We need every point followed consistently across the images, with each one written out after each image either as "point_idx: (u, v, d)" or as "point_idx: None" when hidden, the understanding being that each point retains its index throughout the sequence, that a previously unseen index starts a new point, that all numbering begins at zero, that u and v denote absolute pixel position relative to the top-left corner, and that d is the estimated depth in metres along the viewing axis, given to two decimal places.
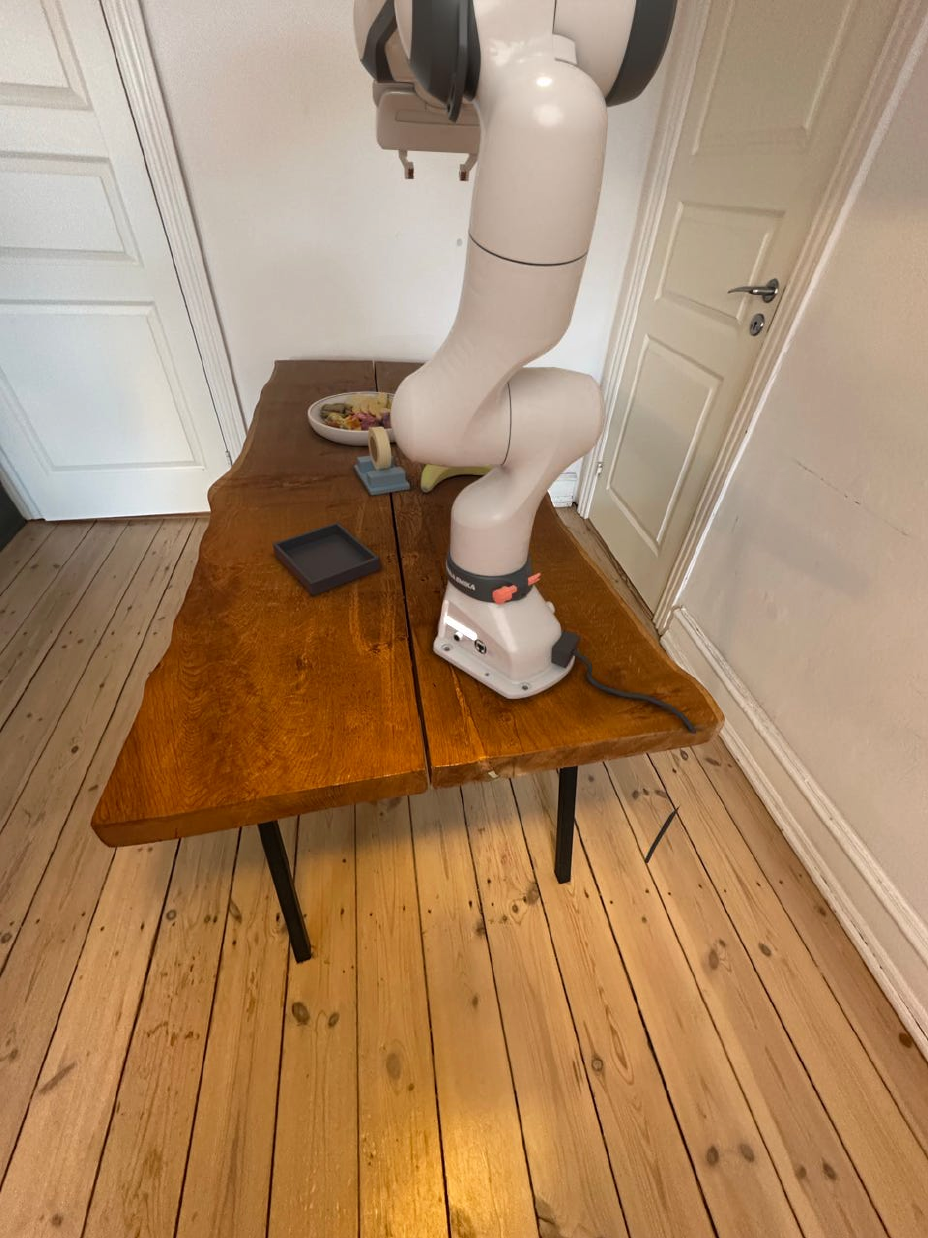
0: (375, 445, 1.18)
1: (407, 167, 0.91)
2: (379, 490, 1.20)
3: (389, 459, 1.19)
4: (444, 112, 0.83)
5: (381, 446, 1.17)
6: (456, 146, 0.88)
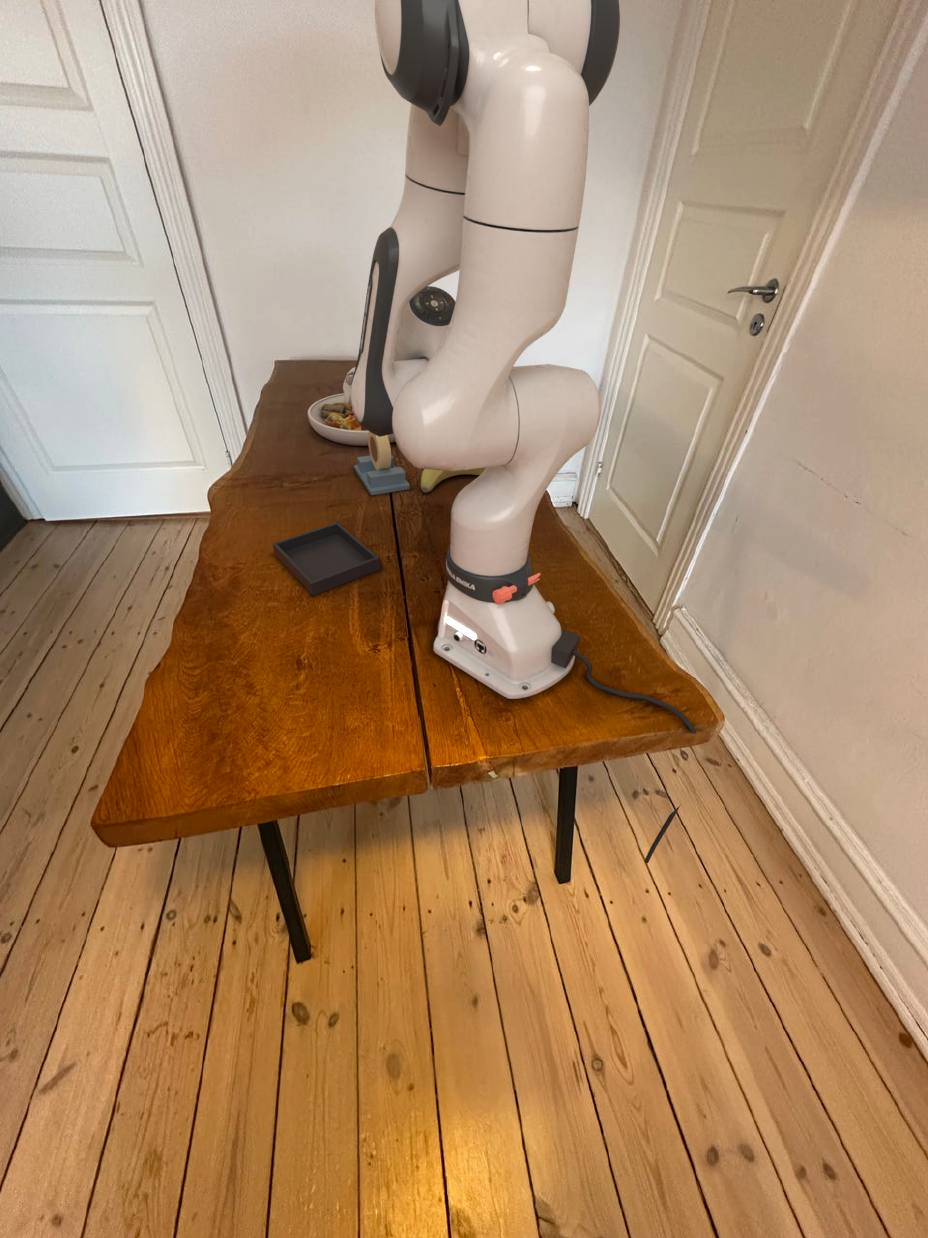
0: (375, 445, 1.18)
1: None
2: (379, 490, 1.20)
3: (389, 459, 1.19)
4: None
5: (381, 446, 1.17)
6: None
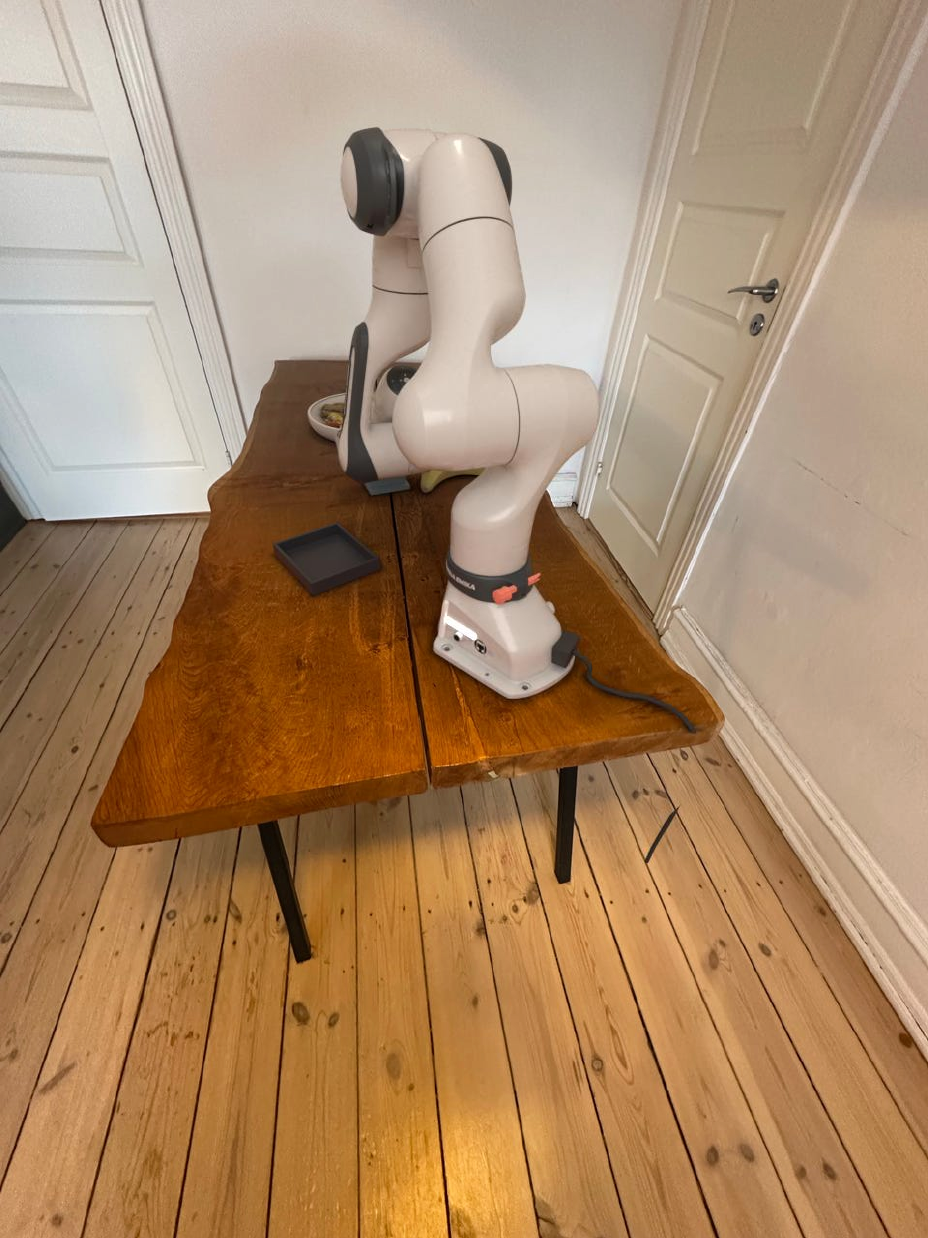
0: None
1: None
2: (379, 490, 1.20)
3: None
4: None
5: None
6: None
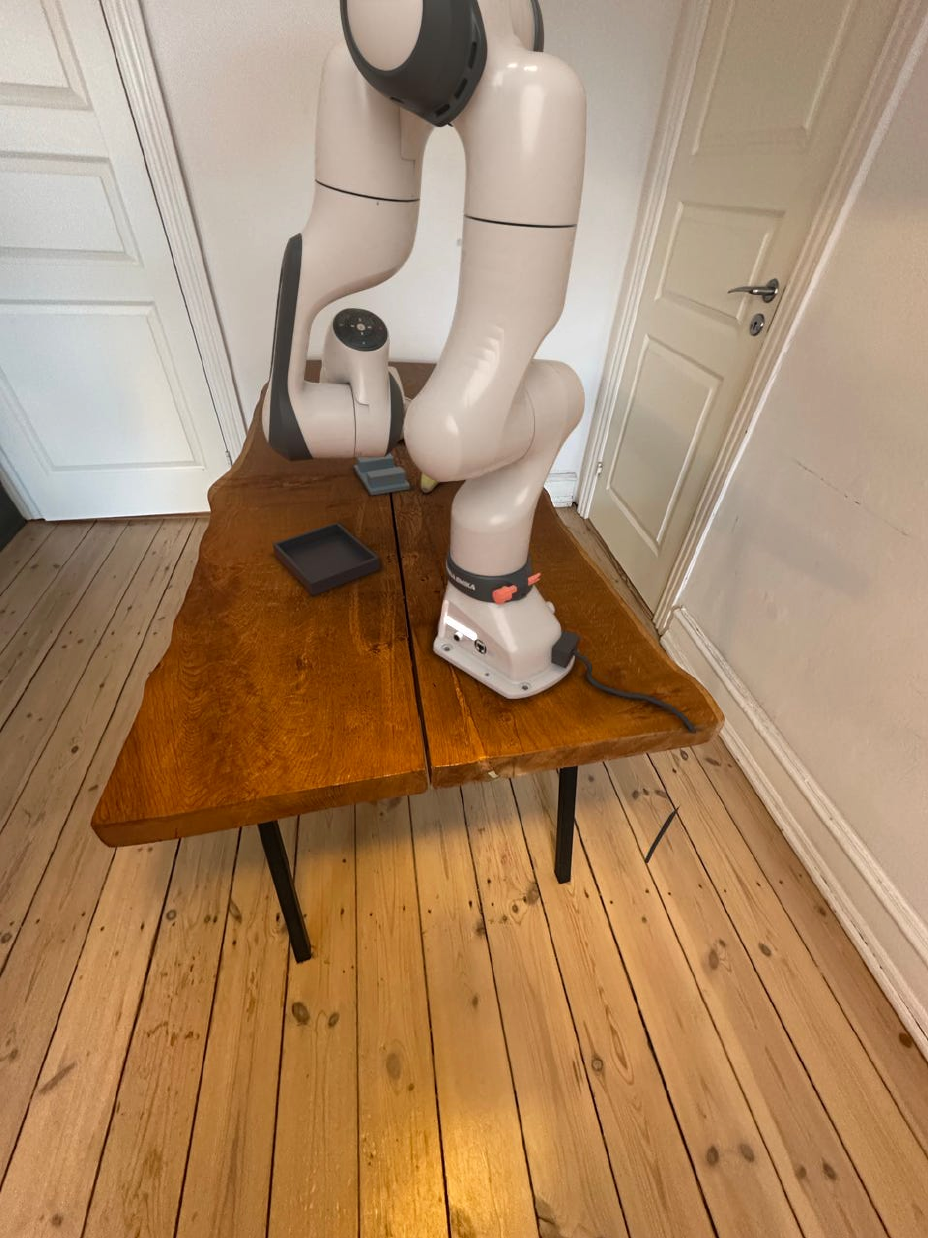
0: None
1: None
2: (379, 490, 1.20)
3: None
4: None
5: None
6: None
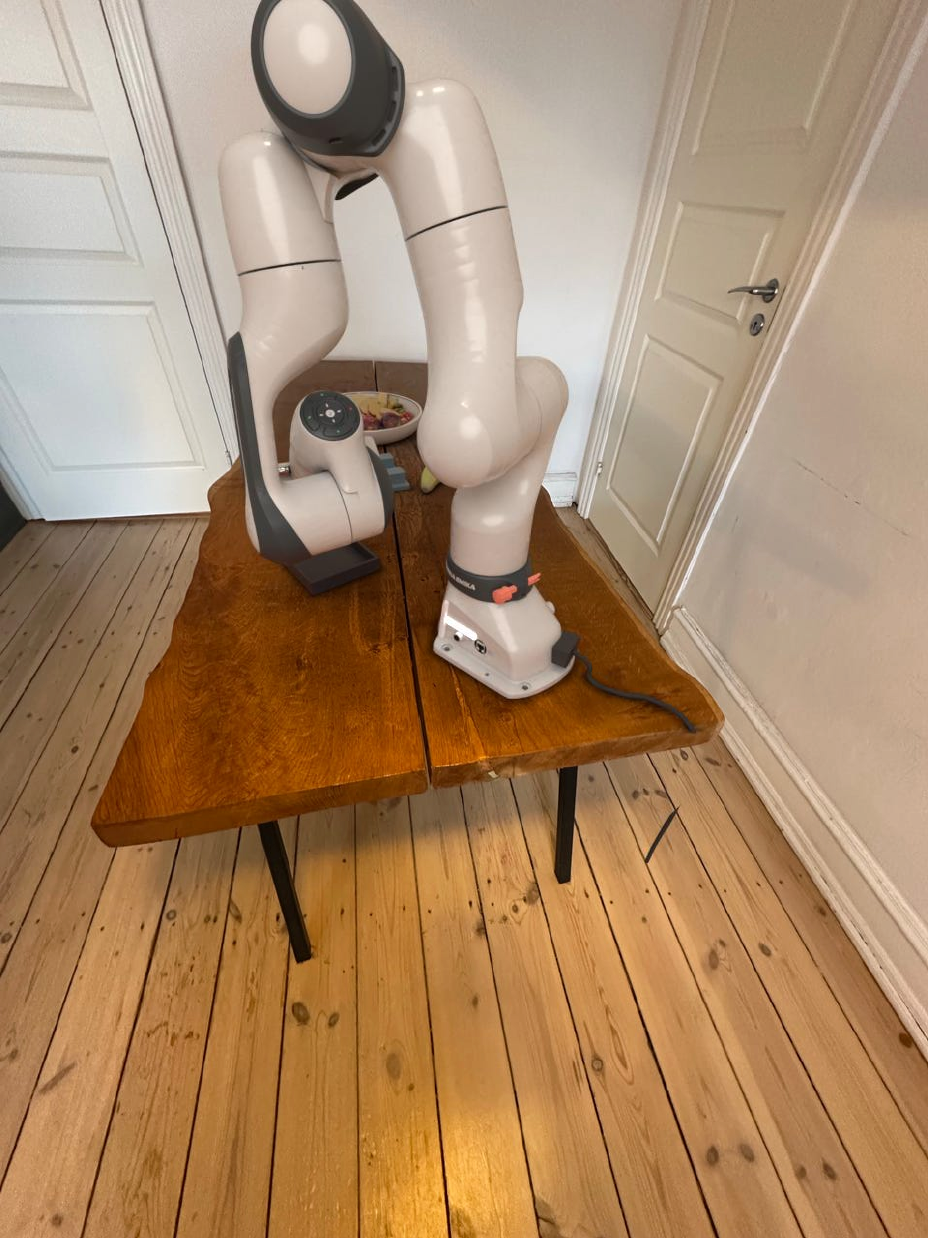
0: None
1: None
2: None
3: None
4: None
5: None
6: None
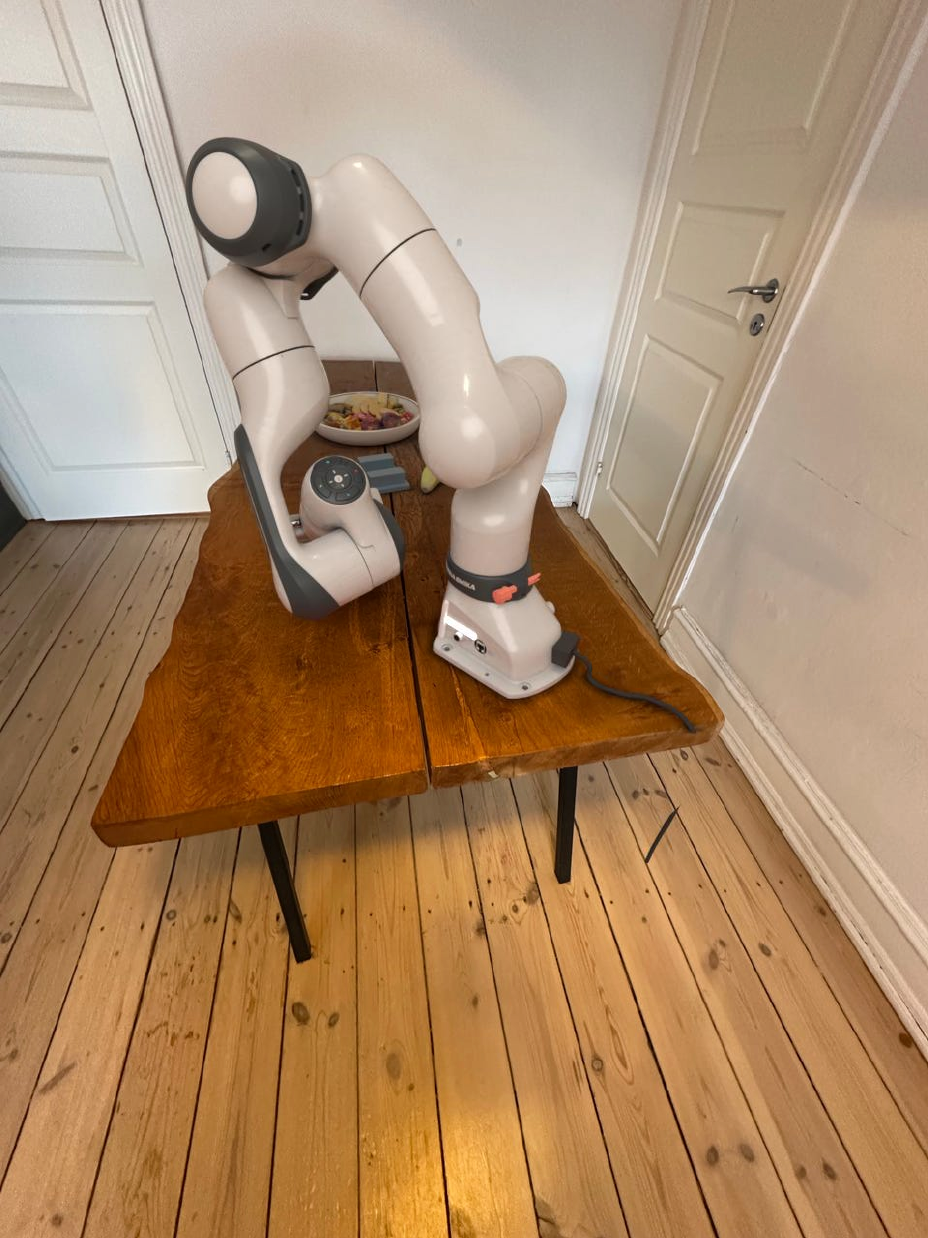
0: None
1: None
2: (379, 490, 1.20)
3: None
4: None
5: None
6: None
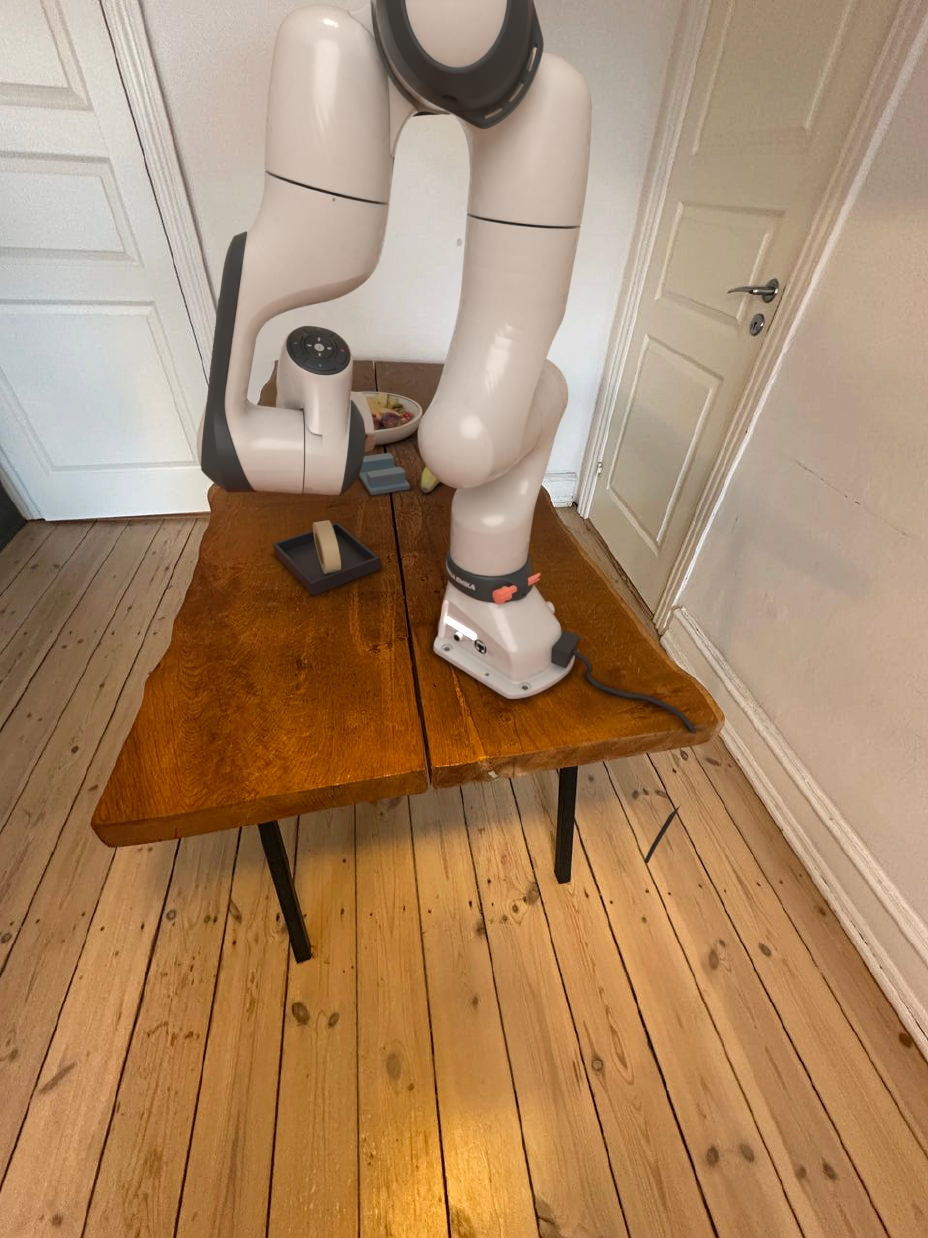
0: (322, 556, 0.92)
1: None
2: (379, 490, 1.20)
3: None
4: None
5: (329, 566, 0.92)
6: None
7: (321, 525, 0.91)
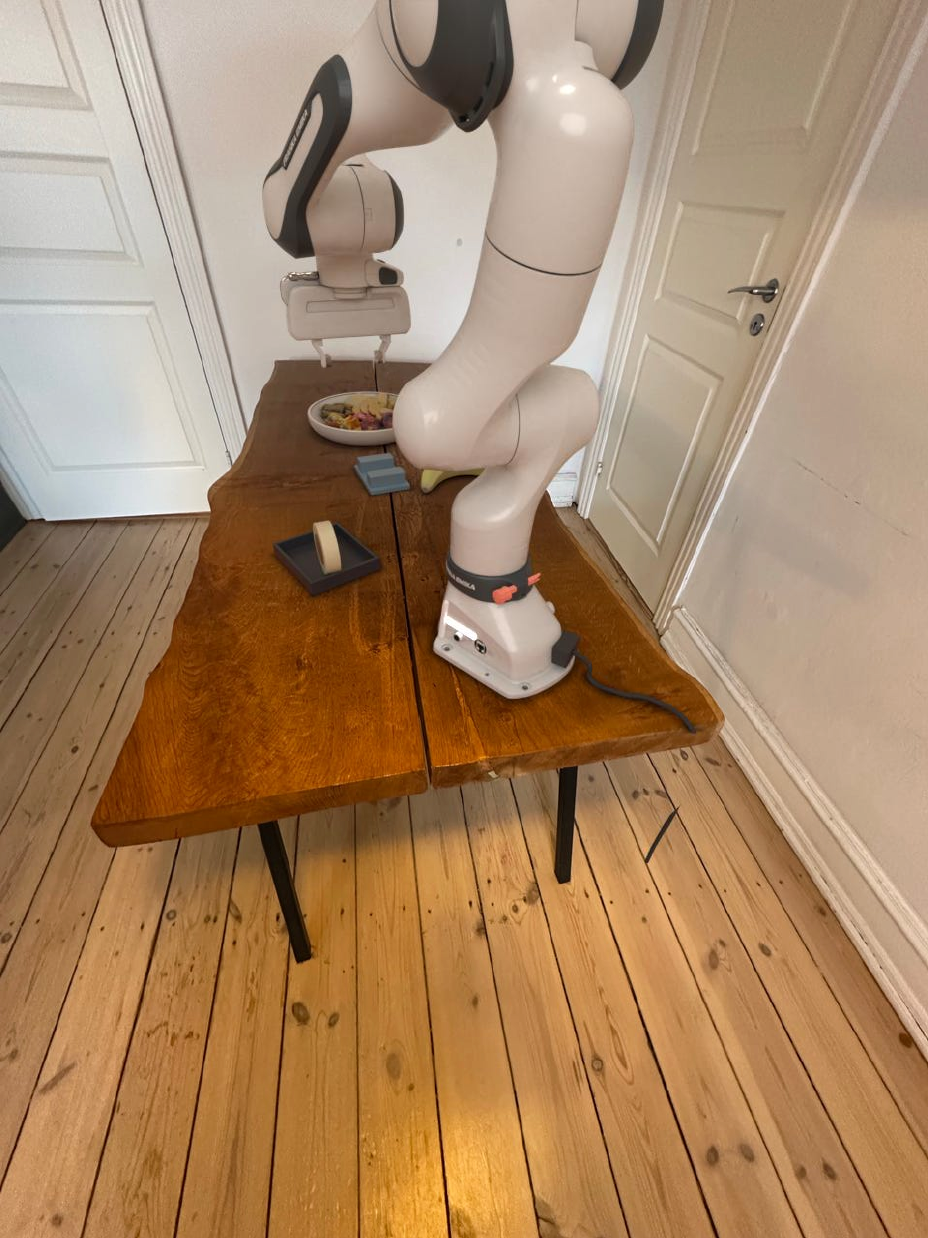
0: (322, 556, 0.92)
1: (324, 356, 0.91)
2: (379, 490, 1.20)
3: None
4: (353, 296, 0.85)
5: (330, 567, 0.92)
6: (369, 329, 0.91)
7: (321, 526, 0.91)
